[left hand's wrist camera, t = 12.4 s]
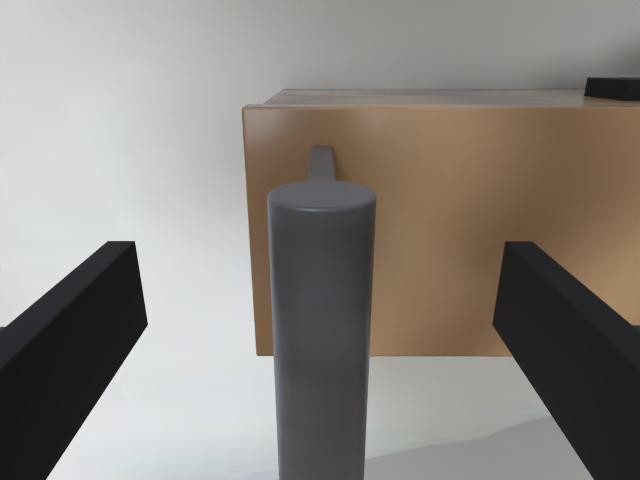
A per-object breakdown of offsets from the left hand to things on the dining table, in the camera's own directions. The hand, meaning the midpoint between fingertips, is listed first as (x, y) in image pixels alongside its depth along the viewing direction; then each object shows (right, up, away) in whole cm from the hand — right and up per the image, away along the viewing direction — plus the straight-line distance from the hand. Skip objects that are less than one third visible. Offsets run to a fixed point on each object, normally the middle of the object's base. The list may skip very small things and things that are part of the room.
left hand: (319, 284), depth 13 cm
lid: (+6, +2, +4) cm, 8 cm away
